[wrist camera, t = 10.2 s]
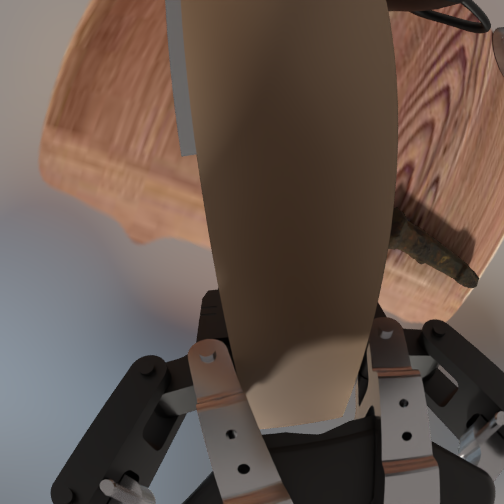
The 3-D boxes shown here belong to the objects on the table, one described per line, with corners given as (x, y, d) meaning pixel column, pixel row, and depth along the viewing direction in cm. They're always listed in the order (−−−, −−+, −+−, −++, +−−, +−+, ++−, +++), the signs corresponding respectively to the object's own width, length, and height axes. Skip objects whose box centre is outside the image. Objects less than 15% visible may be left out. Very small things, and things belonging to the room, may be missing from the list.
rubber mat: (293, -57, 13) (294, -59, 12) (317, 143, 23) (318, 143, 23) (165, -47, 12) (164, -48, 12) (182, 155, 23) (181, 156, 23)
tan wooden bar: (307, -40, 6) (350, -106, 1) (319, 338, 14) (342, 416, 10) (200, -37, 6) (178, -109, 1) (246, 347, 14) (250, 430, 10)
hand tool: (369, 233, 28) (388, 254, 24) (389, 202, 27) (412, 220, 23) (452, 284, 33) (469, 303, 29) (468, 263, 31) (486, 281, 27)
